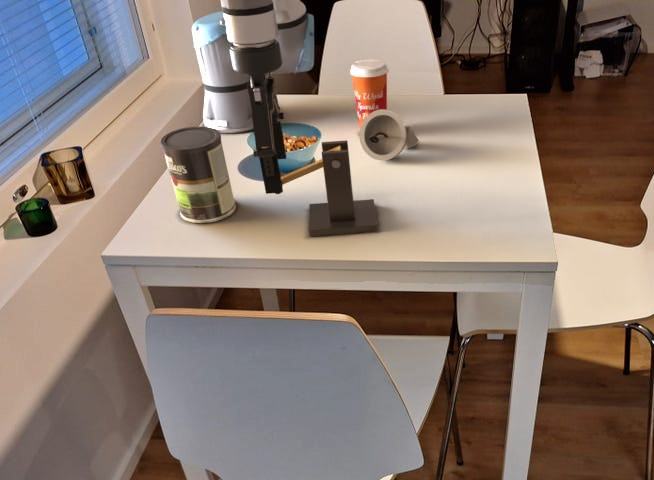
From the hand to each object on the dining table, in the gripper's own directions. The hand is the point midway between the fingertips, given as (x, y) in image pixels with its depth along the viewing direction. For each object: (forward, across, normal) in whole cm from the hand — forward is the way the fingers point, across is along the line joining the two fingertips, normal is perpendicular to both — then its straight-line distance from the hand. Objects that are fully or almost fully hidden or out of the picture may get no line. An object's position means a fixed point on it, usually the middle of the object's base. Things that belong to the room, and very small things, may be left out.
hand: (276, 174), depth 114 cm
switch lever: (+1, 0, +6) cm, 6 cm away
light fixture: (+10, -27, +20) cm, 35 cm away
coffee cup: (+10, -40, +18) cm, 45 cm away
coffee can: (+10, -8, -15) cm, 20 cm away
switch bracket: (+10, 0, +10) cm, 14 cm away
